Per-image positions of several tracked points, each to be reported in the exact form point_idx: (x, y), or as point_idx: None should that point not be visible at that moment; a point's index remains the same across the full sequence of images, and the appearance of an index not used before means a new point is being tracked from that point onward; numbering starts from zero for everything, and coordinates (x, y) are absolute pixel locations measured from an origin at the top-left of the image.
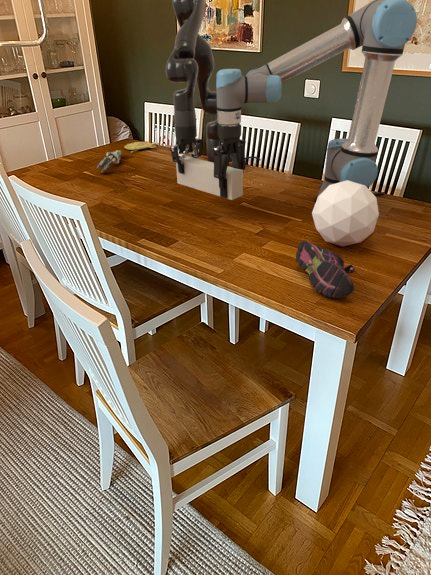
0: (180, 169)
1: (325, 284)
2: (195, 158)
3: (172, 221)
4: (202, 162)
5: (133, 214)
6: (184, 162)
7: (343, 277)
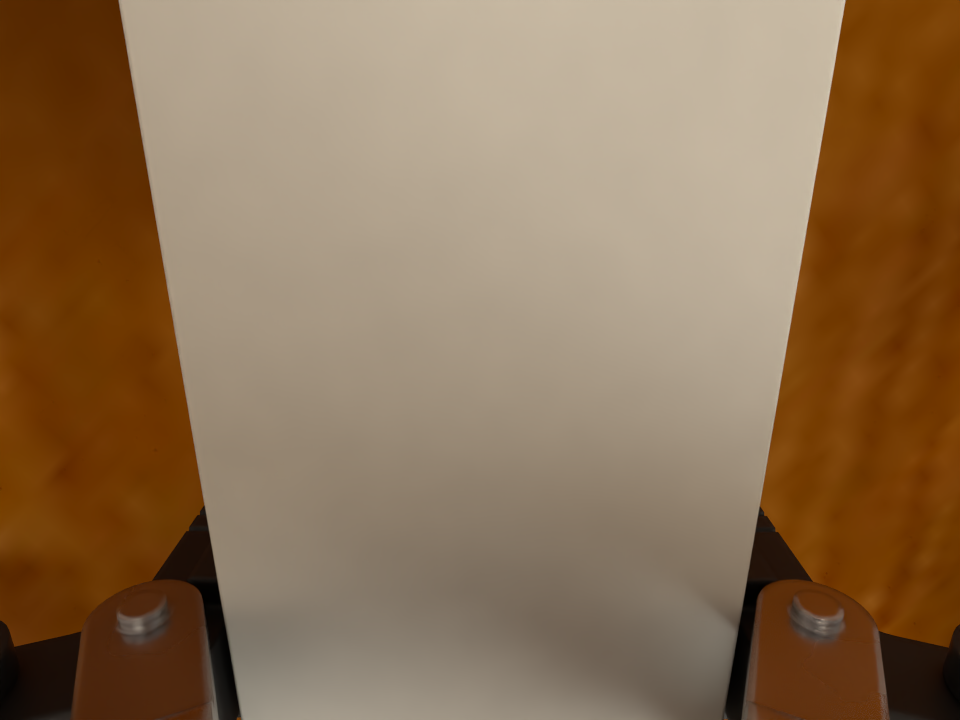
0: (766, 527)
1: None
2: (243, 593)
3: (896, 142)
4: (390, 54)
5: (935, 539)
6: (743, 582)
7: None
